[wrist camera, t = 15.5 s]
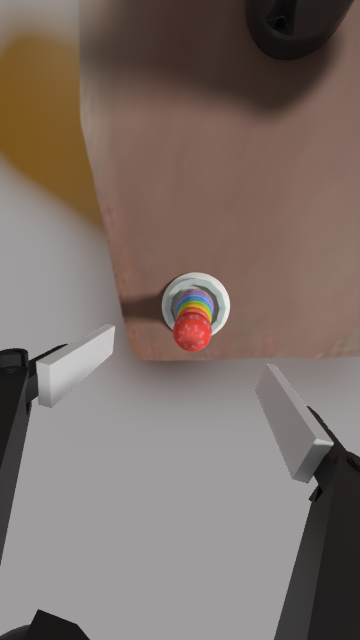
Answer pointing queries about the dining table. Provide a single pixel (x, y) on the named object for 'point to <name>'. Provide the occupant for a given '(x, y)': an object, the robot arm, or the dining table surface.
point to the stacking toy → (193, 320)
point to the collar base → (202, 283)
